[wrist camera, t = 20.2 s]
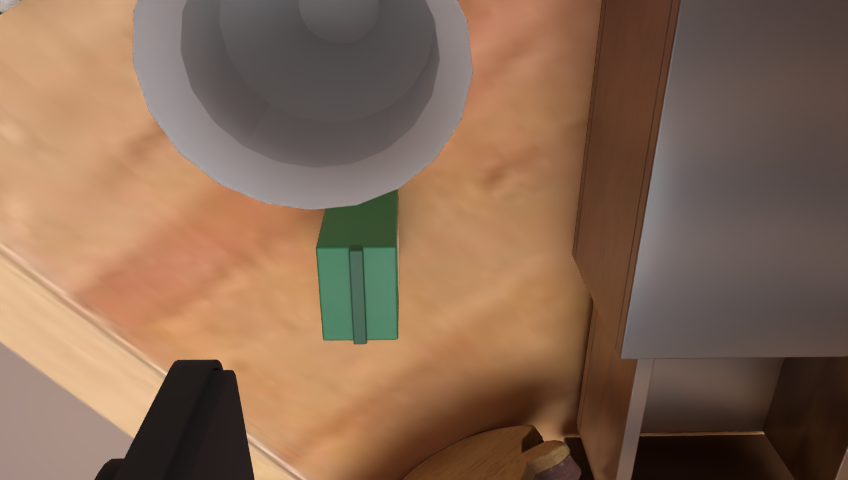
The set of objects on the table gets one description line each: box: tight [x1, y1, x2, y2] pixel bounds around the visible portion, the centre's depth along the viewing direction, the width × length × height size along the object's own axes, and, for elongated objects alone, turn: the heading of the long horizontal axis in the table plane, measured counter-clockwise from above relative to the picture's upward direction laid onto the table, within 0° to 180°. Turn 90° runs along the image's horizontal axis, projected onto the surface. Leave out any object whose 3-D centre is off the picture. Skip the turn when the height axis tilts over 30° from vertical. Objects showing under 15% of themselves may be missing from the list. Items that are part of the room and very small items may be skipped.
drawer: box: [564, 304, 848, 480], centre depth 38 cm, size 19×13×8 cm
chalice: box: [133, 0, 473, 210], centre depth 23 cm, size 7×7×18 cm
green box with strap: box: [316, 189, 400, 344], centre depth 33 cm, size 5×4×8 cm
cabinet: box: [573, 0, 848, 359], centre depth 30 cm, size 15×14×9 cm
